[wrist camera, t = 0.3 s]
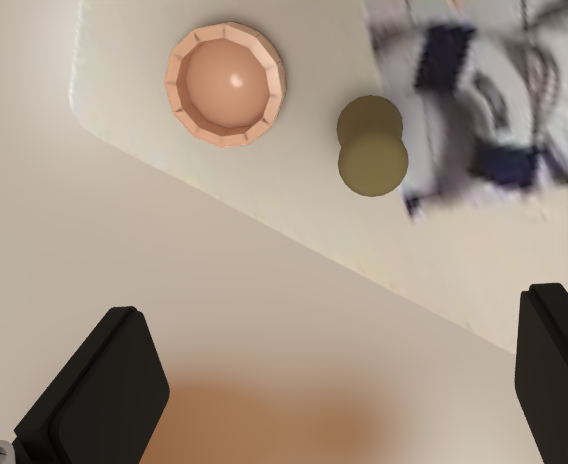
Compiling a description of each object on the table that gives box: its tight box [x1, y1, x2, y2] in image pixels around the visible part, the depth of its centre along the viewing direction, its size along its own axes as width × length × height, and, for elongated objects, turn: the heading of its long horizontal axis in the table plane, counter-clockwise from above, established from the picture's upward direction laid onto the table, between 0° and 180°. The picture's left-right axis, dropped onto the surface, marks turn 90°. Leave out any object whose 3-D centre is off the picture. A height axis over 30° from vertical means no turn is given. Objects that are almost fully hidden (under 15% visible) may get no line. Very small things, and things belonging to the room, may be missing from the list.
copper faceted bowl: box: [164, 22, 286, 148], centre depth 41 cm, size 10×10×4 cm
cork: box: [337, 95, 409, 197], centre depth 38 cm, size 6×6×11 cm
